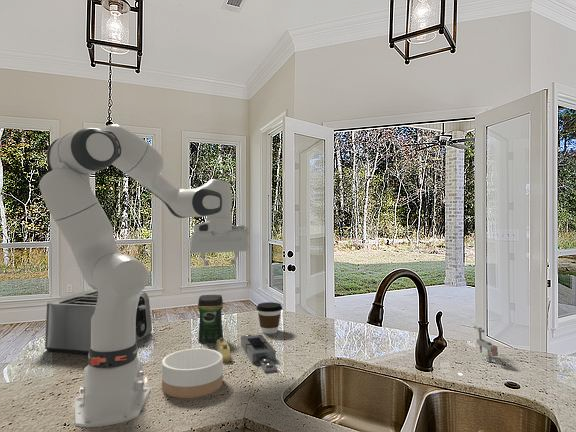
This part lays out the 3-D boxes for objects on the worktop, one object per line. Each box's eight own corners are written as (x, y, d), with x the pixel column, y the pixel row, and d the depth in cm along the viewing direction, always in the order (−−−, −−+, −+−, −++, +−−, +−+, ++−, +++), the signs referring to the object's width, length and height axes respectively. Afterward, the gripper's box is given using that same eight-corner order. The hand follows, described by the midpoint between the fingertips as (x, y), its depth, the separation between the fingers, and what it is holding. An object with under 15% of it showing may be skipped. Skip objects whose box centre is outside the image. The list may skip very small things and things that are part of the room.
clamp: (498, 365, 128) (497, 334, 129) (492, 365, 128) (490, 334, 129) (478, 352, 143) (477, 325, 144) (472, 352, 143) (471, 325, 144)
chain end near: (282, 372, 123) (282, 359, 123) (258, 375, 120) (258, 362, 120) (268, 354, 139) (268, 342, 139) (246, 356, 136) (246, 345, 136)
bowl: (198, 370, 124) (198, 344, 124) (235, 385, 114) (235, 356, 114) (149, 388, 111) (149, 359, 111) (185, 407, 100) (185, 375, 100)
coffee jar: (224, 338, 156) (224, 292, 156) (221, 345, 148) (221, 296, 148) (200, 339, 155) (200, 292, 155) (196, 345, 147) (196, 297, 147)
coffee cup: (253, 330, 167) (253, 302, 167) (278, 328, 170) (278, 301, 170) (259, 338, 156) (259, 308, 156) (285, 335, 160) (285, 306, 160)
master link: (230, 363, 130) (230, 346, 130) (221, 364, 129) (221, 347, 129) (224, 352, 141) (224, 336, 141) (216, 353, 140) (216, 337, 140)
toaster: (111, 362, 131) (111, 306, 131) (31, 355, 138) (31, 302, 138) (156, 336, 159) (156, 290, 159) (88, 331, 166) (88, 287, 166)
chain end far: (236, 340, 153) (236, 330, 153) (256, 338, 156) (256, 328, 156) (245, 355, 137) (245, 344, 137) (267, 353, 140) (267, 342, 140)
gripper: (246, 225, 142) (246, 262, 143) (189, 226, 136) (189, 265, 136) (250, 225, 136) (250, 264, 137) (190, 226, 130) (191, 267, 130)
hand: (219, 265), depth 136 cm, fingers open, 8 cm apart
